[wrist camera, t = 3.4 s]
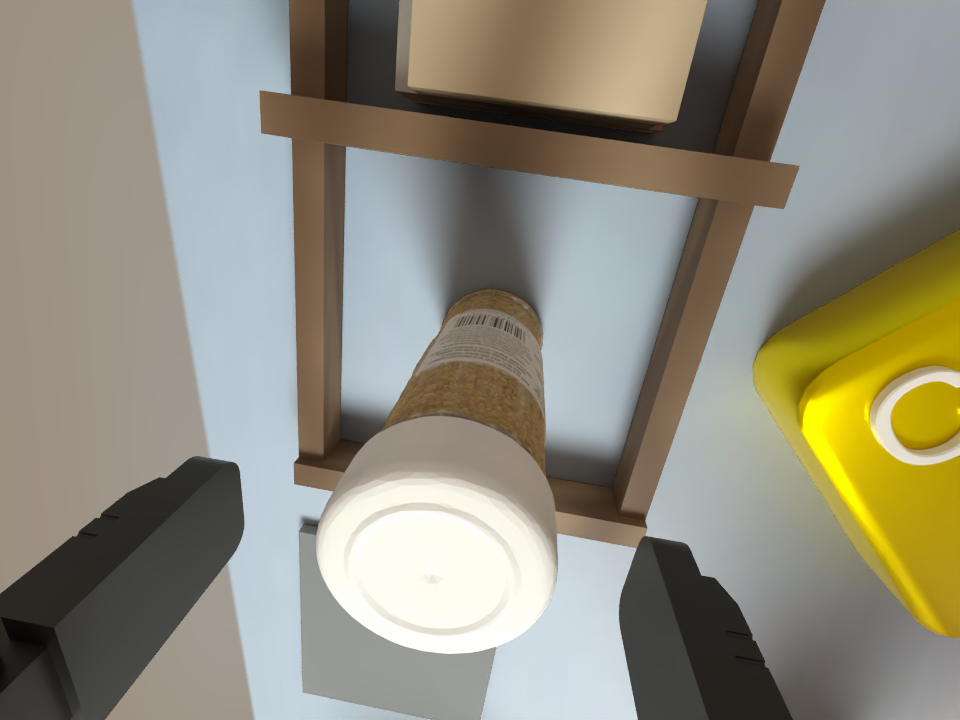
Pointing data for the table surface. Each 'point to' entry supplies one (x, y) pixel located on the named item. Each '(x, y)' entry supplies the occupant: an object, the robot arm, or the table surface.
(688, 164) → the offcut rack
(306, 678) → the mat
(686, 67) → the tan rectangular block
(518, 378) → the sprinkles bottle
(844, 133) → the table surface
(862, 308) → the element tile
